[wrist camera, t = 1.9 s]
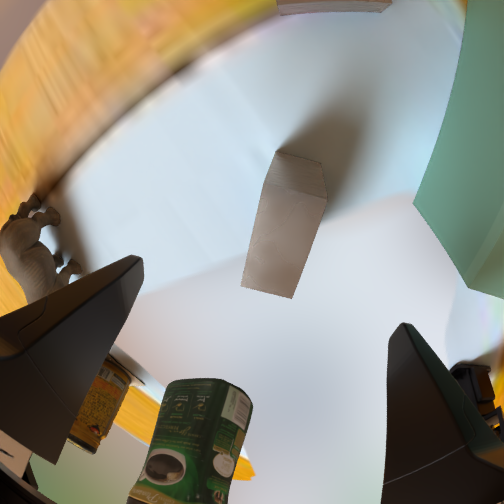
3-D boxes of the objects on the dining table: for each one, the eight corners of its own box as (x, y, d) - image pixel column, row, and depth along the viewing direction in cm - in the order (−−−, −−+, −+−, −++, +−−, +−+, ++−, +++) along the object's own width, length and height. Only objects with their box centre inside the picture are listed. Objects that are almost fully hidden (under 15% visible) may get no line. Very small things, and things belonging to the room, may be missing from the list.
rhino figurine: (84, 314, 26) (55, 356, 21) (26, 195, 19) (-21, 230, 14) (111, 319, 25) (82, 365, 20) (51, 187, 18) (-3, 225, 13)
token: (296, 241, 17) (291, 298, 13) (256, 231, 17) (240, 285, 13) (320, 163, 14) (327, 199, 10) (275, 151, 14) (263, 182, 10)
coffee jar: (196, 408, 33) (158, 532, 18) (159, 375, 29) (104, 516, 14) (265, 406, 29) (235, 555, 14) (232, 371, 26) (184, 553, 11)
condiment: (116, 385, 35) (85, 453, 25) (73, 348, 31) (32, 417, 21) (146, 384, 32) (112, 463, 22) (97, 341, 28) (49, 424, 18)
